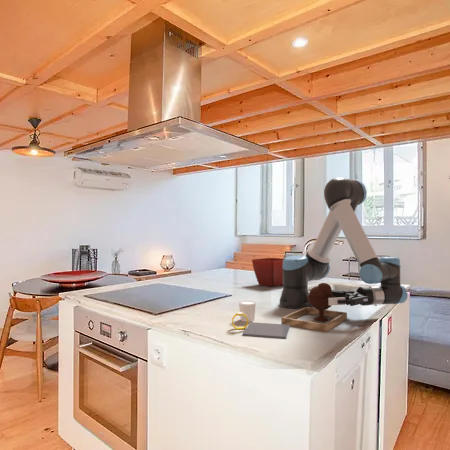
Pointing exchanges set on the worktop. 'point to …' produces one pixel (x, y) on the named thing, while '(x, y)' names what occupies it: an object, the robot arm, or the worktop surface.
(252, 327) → the plate
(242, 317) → the white cup
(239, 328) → the watch
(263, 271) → the plant pot
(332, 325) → the wooden picture frame
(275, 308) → the worktop surface
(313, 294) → the ice cream bowl
